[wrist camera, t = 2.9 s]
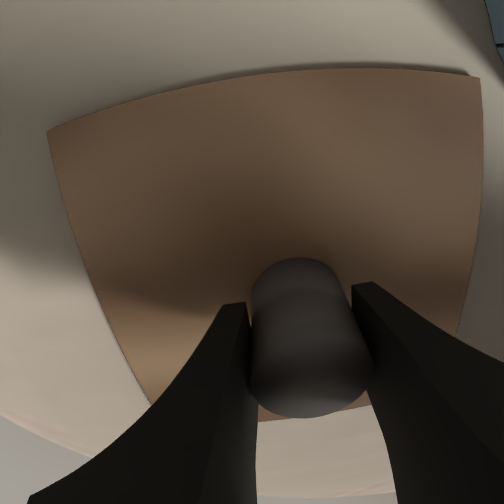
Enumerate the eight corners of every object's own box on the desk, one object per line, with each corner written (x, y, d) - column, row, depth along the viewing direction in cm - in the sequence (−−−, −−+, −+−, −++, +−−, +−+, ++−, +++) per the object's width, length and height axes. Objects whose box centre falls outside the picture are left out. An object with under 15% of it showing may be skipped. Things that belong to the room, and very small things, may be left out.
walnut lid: (432, 375, 13) (464, 442, 9) (167, 411, 14) (151, 487, 10) (465, 78, 7) (562, 83, 3) (60, 128, 8) (-38, 155, 4)
